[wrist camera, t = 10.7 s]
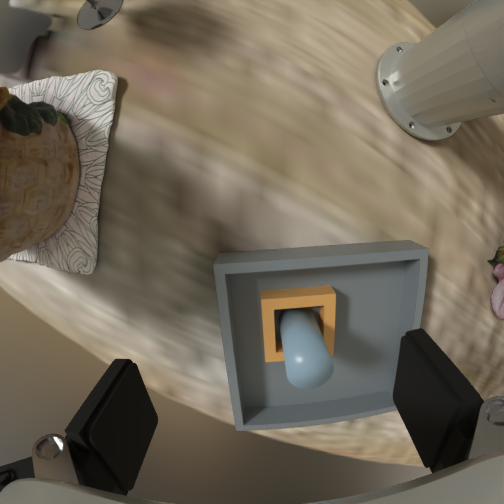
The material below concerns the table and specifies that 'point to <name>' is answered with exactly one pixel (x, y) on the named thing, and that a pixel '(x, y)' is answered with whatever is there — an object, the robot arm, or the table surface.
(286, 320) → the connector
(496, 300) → the flower
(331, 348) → the frame
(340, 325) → the walled box
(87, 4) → the wine glass
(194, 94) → the table surface
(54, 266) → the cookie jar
